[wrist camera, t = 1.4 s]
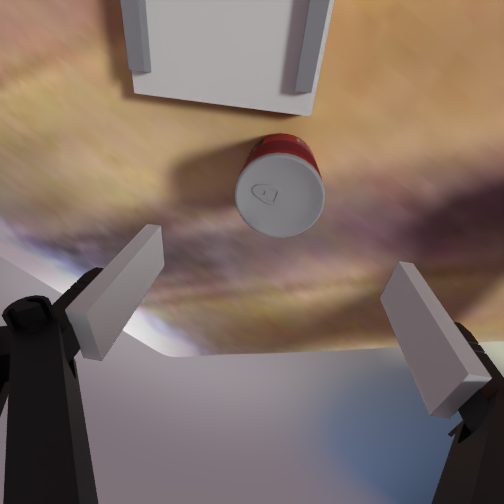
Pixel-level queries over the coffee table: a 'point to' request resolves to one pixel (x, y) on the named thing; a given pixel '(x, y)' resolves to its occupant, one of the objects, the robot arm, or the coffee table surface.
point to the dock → (228, 50)
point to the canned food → (280, 187)
